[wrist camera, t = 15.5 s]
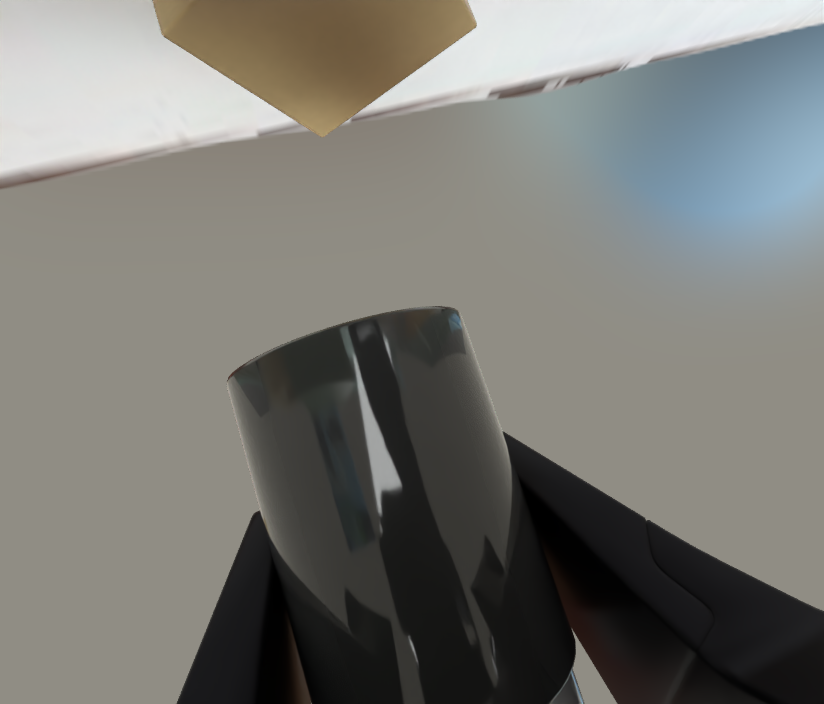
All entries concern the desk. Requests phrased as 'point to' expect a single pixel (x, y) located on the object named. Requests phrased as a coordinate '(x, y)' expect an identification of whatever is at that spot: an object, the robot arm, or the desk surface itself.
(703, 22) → the desk surface
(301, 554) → the pepper shaker
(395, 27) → the maple block
